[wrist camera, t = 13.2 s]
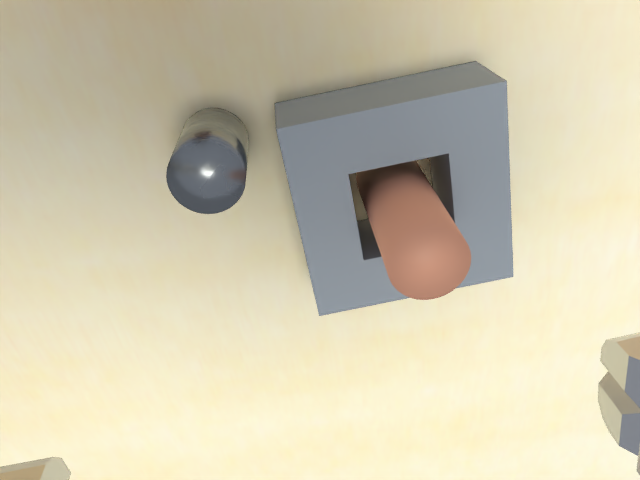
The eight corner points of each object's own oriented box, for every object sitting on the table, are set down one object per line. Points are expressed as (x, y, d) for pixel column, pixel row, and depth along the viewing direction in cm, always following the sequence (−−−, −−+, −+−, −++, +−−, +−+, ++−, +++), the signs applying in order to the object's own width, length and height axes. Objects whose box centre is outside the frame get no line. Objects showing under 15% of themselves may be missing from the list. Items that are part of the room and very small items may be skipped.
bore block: (313, 273, 40) (319, 315, 36) (274, 103, 35) (275, 129, 30) (486, 238, 40) (513, 276, 36) (475, 61, 34) (506, 81, 30)
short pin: (192, 177, 36) (179, 220, 31) (172, 115, 35) (155, 150, 29) (255, 164, 36) (253, 205, 31) (239, 101, 34) (234, 133, 29)
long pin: (361, 210, 38) (392, 306, 29) (351, 153, 37) (381, 236, 27) (421, 198, 38) (473, 290, 29) (415, 140, 36) (468, 218, 27)
